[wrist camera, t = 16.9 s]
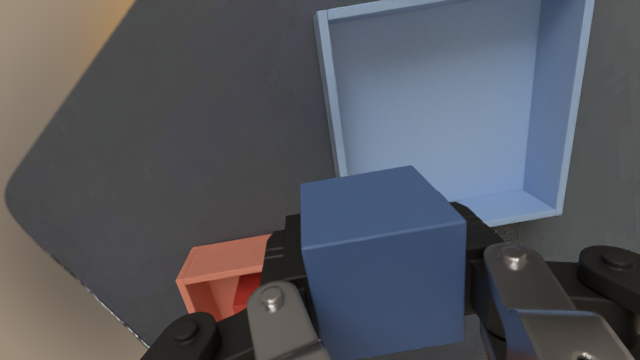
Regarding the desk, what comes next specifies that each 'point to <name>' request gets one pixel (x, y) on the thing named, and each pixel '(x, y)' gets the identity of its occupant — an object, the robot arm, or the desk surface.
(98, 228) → the desk surface
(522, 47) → the blue bin
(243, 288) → the red block
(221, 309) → the red bin
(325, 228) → the blue block
